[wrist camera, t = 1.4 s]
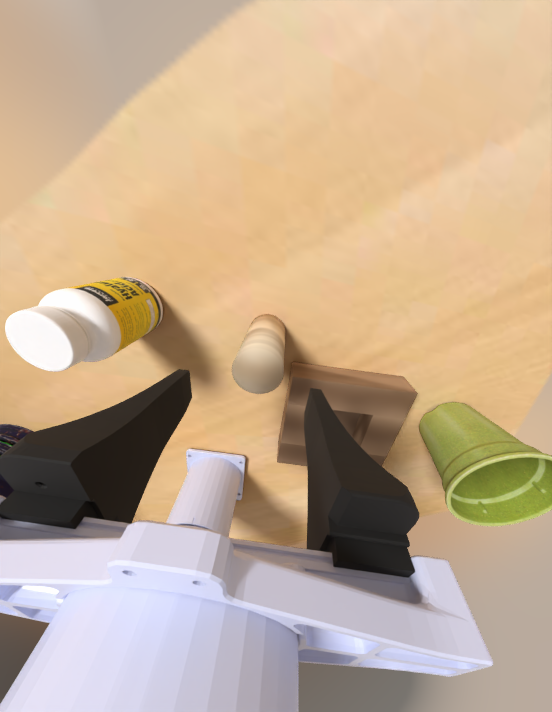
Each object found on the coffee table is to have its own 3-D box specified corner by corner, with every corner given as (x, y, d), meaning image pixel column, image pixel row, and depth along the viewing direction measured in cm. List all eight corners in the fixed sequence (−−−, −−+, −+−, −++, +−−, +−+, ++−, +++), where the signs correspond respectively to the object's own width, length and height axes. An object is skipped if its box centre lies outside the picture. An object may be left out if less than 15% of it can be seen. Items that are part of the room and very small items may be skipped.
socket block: (369, 454, 30) (377, 475, 27) (278, 442, 30) (277, 462, 27) (403, 376, 24) (417, 393, 22) (292, 361, 24) (292, 376, 22)
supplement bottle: (163, 281, 21) (75, 308, 13) (166, 334, 24) (94, 389, 15) (104, 270, 21) (-26, 291, 12) (113, 325, 24) (10, 375, 15)
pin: (282, 350, 24) (279, 396, 17) (248, 345, 24) (230, 390, 17) (287, 316, 22) (286, 352, 15) (251, 312, 22) (232, 345, 15)
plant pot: (398, 452, 29) (437, 527, 22) (408, 391, 25) (461, 458, 18) (477, 448, 29) (547, 526, 21) (500, 385, 24) (599, 453, 17)
